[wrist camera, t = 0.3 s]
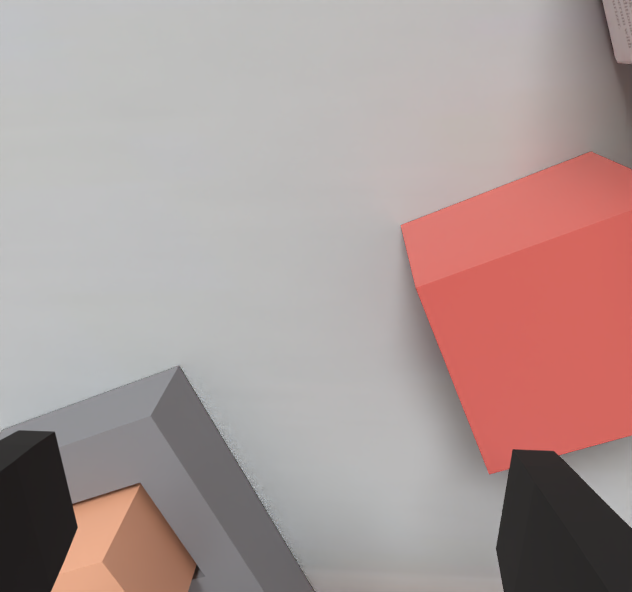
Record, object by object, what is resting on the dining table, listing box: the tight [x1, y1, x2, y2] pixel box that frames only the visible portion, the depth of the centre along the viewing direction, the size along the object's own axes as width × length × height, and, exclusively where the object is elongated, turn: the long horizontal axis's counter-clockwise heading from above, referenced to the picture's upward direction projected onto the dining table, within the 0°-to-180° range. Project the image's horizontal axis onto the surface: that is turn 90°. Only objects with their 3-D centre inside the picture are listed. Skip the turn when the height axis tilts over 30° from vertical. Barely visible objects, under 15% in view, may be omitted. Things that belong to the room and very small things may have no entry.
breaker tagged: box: [51, 483, 197, 592], centre depth 19 cm, size 4×4×4 cm
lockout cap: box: [401, 152, 632, 474], centre depth 15 cm, size 6×6×5 cm
